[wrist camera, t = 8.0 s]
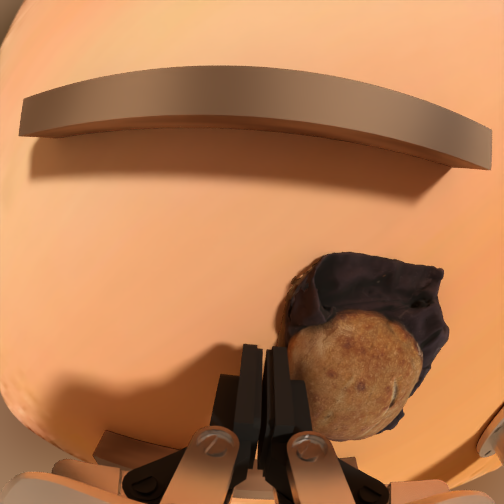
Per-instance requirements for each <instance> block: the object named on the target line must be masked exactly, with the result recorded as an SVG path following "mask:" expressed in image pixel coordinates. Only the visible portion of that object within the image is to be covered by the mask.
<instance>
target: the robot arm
mask: <svg viewBox="0 0 504 504" xmlns="http://www.w3.org/2000/svg"><path fill="white" fill-rule="evenodd" d="M262 356H263V349H257V345H250V344H243V352H242V360H241V368H240V376H233V375H224V374H221V375H220V378H219V383H218V387H217V392H216V397H215V402H214V406H213V411H212V416H211V421H210V426H207V427H204V428H201V429H200V430H198V431H197V432H196V433H195V434H194V435H193V437H192V439H191V441H190V443H189V445H188V447H185V448H183V449H181V450H179V451H177V452H174V453H172V454H170V455H168V456H165V457H163V458H161V459H158V460H156V461H153V462H151V463H148V464H146V465H143V466H141V467H138V468H135V469H133V470H131V471H122V470H121V469H120V468H116V467H109V466H102V465H97V464H91V463H86V462H81V461H76V460H72V459H63V460H59V461H58V462H57V463H55V465H54V467H53V469H52V473H51V474H50V473H43V472H23V473H20V474H18V475H16V476H15V477H14V478H12V479H11V480H10V481H9V482H8V483H7V484H6V485H5V487H4V488H3V489H2V490H1V492H0V504H230V503H231V500H232V497H233V493H234V490H235V486H236V485H238V484H240V483H241V482H243V481H244V480H246V478H247V472H248V469H253V465H254V459H255V454H256V449H257V443H258V459H257V470H263V477H265V481H266V482H268V483H269V484H270V485H271V486H273V495H274V500H275V504H495V502H494V501H493V500H492V498H491V497H490V496H488V495H487V494H485V493H484V492H481V491H473V490H460V491H452V492H450V490H449V487H448V485H447V484H446V483H445V482H444V481H442V480H438V479H432V480H422V481H406V482H391V483H390V484H383V483H382V482H380V481H379V480H377V479H375V478H373V477H371V476H369V475H367V474H365V473H364V472H362V471H360V470H358V469H356V468H355V467H353V466H351V465H349V464H348V463H346V462H344V461H343V460H341V459H339V458H338V457H337V456H336V453H335V451H334V448H333V446H332V443H331V442H330V440H329V439H328V438H327V437H326V436H324V435H322V434H320V433H318V432H313V430H312V423H311V417H310V410H309V404H308V398H307V391H306V385H305V381H304V380H290V372H289V362H288V353H287V347H276V346H273V347H272V350H267V351H266V358H265V366H264V373H263V380H262ZM476 449H477V452H478V454H479V456H480V457H488V456H491V455H493V454H495V453H496V454H497V456H498V458H499V460H500V461H501V463H502V465H503V467H504V406H503V408H502V409H501V410H500V411H499V413H498V414H497V415H496V416H495V418H494V419H493V420H492V422H491V423H490V424H489V425H488V427H487V428H486V430H485V431H484V433H483V434H482V436H481V438H480V439H479V441H478V444H477V447H476Z"/></svg>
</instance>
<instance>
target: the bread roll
mask: <svg viewBox="0 0 504 504" xmlns="http://www.w3.org/2000/svg"><path fill="white" fill-rule="evenodd" d="M443 275H444V270H443V269H442V268H438V269H437V268H435V267H434V266H425V265H415V264H409V263H404V262H402V261H399V260H396V259H393V260H392V259H388V258H382V257H378V256H370V255H366V254H361V253H353V252H342V253H332V254H327V255H325V256H323V257H322V258H321V259H320V261H319V262H318V263H317V264H314V265H313V266H312V268H311V269H310V270H309V271H308V272H307V273H304V274H303V276H302V277H301V278H299V279H297V280H296V276H295V277H294V278H293V279H292V281H291V283H292V284H293V287H292V288H291V289H290V291H289V293H288V295H287V298H286V304H285V309H284V315H283V319H282V327H281V329H280V332H279V334H278V341H277V344H278V347H287V353H288V362H289V372H290V380H304V381H305V385H306V391H307V398H308V404H309V410H310V417H311V423H312V430H313V432H318V433H320V434H322V435H324V436H326V437H327V438H328V439H329V440H332V441H338V442H342V441H347V440H361V439H365V438H368V437H370V436H373V435H375V434H379V433H382V432H383V431H385V430H391V429H393V428H394V427H395V426H396V425H397V424H398V422H399V420H400V419H401V418H402V417H403V416H404V413H403V407H404V405H405V404H406V402H407V400H408V398H409V397H410V396H412V395H413V393H414V392H415V391H416V389H417V388H418V387H419V386H420V384H421V383H422V381H423V380H424V378H425V376H426V374H427V373H428V372H429V370H430V369H431V363H432V362H433V360H434V359H435V357H436V355H437V354H438V352H439V351H440V350H441V348H442V347H443V346H444V344H445V343H446V342H447V340H448V337H449V327H448V326H447V325H446V323H445V322H444V319H443V315H442V311H441V307H440V305H439V301H438V296H437V294H438V291H439V286H440V282H441V280H442V279H443Z"/></svg>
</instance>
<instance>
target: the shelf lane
mask: <svg viewBox="0 0 504 504" xmlns="http://www.w3.org/2000/svg"><path fill="white" fill-rule="evenodd" d="M150 128H229V129H247V130H261V131H273V132H283V133H292V134H301V135H308V136H316V137H323V138H329V139H335V140H341V141H347V142H353V143H358V144H363V145H368V146H373V147H378V148H382V149H387V150H391V151H396V152H400V153H404V154H408V155H412V156H415V157H419V158H423V159H426V160H430V161H433V162H437V163H440V164H443V165H447V166H450V167H453V168H469V169H482V170H491V161H492V130H491V129H489V128H487V127H485V126H483V125H481V124H479V123H477V122H475V121H473V120H471V119H469V118H467V117H464V116H462V115H460V114H458V113H455V112H453V111H450V110H448V109H446V108H443V107H441V106H438V105H435V104H433V103H430V102H427V101H424V100H422V99H419V98H416V97H413V96H410V95H407V94H404V93H400V92H397V91H394V90H390V89H387V88H383V87H379V86H376V85H372V84H368V83H364V82H359V81H355V80H350V79H346V78H341V77H336V76H330V75H324V74H318V73H312V72H305V71H297V70H289V69H279V68H268V67H252V66H186V67H171V68H159V69H150V70H142V71H134V72H127V73H121V74H115V75H110V76H104V77H99V78H95V79H90V80H86V81H81V82H77V83H73V84H70V85H66V86H62V87H59V88H55V89H52V90H49V91H45V92H42V93H39V94H36V95H33V96H30V97H28V98H25V99H24V100H23V106H22V113H21V120H20V128H19V136H26V137H47V138H61V137H67V136H74V135H81V134H89V133H98V132H107V131H118V130H132V129H150ZM177 451H179V450H177V449H172V448H167V447H163V446H159V445H154V444H150V443H147V442H143V441H139V440H136V439H132V438H129V437H125V436H122V435H119V434H116V433H113V432H110V431H107V430H106V431H105V432H104V434H103V436H102V438H101V440H100V442H99V444H98V446H97V447H96V449H95V451H94V453H93V457H94V458H95V460H96V462H97V463H98V465H102V466H109V467H116V468H120V469H121V470H122V471H131V470H133V469H135V468H138V467H141V466H143V465H146V464H148V463H151V462H153V461H156V460H158V459H161V458H163V457H165V456H168V455H170V454H172V453H174V452H177ZM341 460H343V461H344V462H346V463H348V464H349V465H351V466H353V467H355V468H356V469H358V467H357V463H356V458H355V457H352V458H342V459H341ZM233 497H234V498H246V499H268V500H274V495H273V486H271V485H270V484H269V483H268V482H266V481H265V477H263V470H257V460H254V465H253V469H248V472H247V478H246V480H244V481H243V482H241V483H240V484H238V485H236V486H235V490H234V493H233Z"/></svg>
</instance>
